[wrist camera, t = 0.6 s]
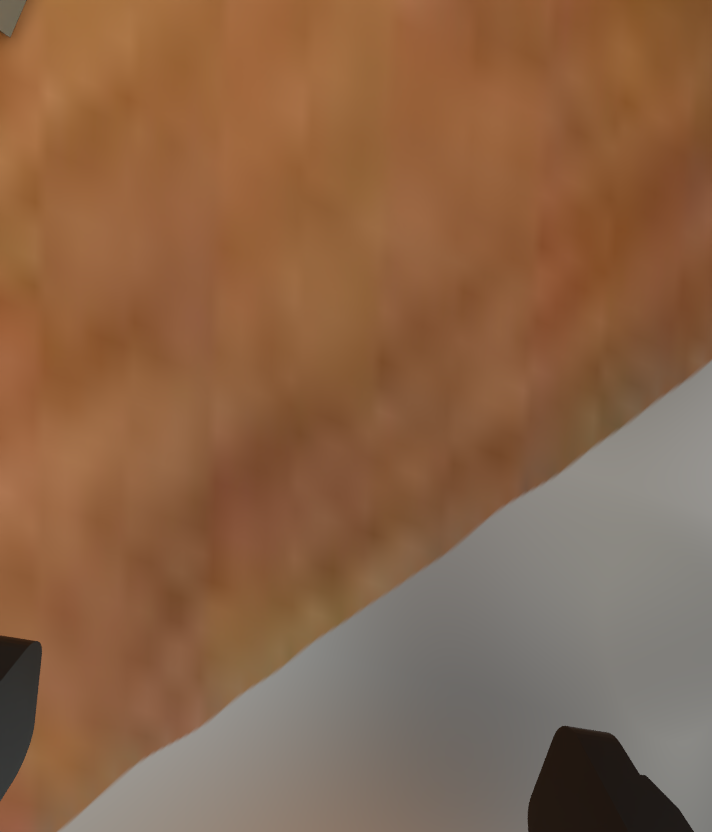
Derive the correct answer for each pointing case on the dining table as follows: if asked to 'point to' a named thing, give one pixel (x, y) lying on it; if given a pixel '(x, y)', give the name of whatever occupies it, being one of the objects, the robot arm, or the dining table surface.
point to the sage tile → (10, 14)
